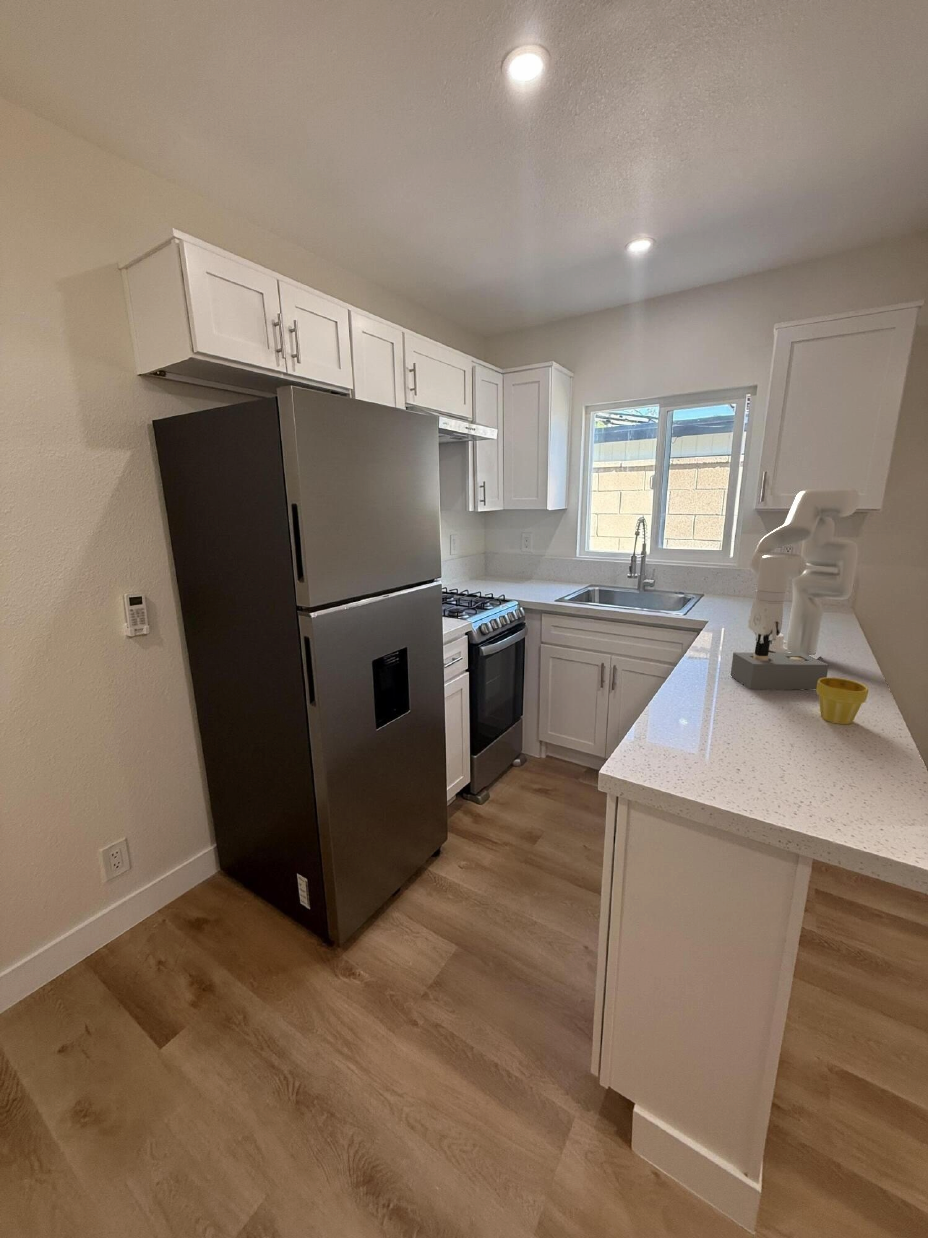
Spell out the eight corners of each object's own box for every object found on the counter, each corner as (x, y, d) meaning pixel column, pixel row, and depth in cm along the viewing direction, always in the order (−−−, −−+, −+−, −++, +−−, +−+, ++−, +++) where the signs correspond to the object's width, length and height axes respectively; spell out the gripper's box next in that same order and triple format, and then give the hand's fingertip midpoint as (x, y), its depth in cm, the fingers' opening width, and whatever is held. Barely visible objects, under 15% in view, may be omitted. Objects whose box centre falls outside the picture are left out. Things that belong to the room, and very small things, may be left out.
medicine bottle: (752, 665, 172) (757, 631, 169) (765, 662, 175) (770, 629, 172) (772, 671, 166) (777, 636, 163) (786, 668, 169) (791, 634, 166)
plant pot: (837, 729, 123) (844, 692, 120) (802, 713, 132) (808, 678, 130) (872, 726, 125) (879, 689, 122) (834, 709, 134) (840, 675, 132)
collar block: (730, 676, 161) (733, 652, 159) (799, 676, 160) (803, 653, 159) (750, 689, 149) (753, 664, 147) (824, 690, 149) (828, 664, 147)
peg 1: (748, 674, 157) (751, 653, 155) (761, 674, 156) (764, 653, 155) (755, 678, 153) (758, 656, 151) (768, 678, 152) (771, 657, 151)
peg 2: (783, 678, 156) (786, 657, 155) (796, 678, 156) (799, 657, 155) (791, 682, 153) (794, 661, 151) (804, 682, 152) (808, 661, 151)
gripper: (744, 592, 156) (736, 648, 160) (771, 600, 142) (762, 662, 146) (768, 592, 156) (760, 648, 160) (798, 601, 141) (788, 662, 145)
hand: (761, 655), depth 153 cm, fingers closed
